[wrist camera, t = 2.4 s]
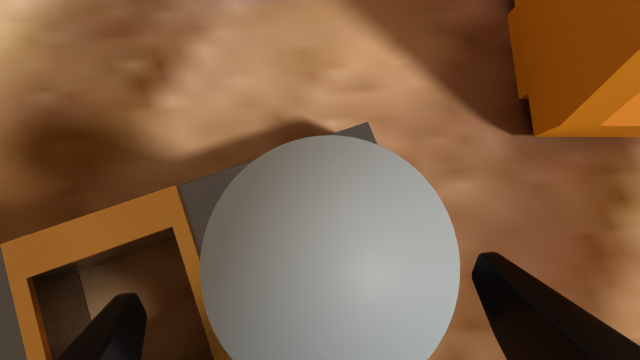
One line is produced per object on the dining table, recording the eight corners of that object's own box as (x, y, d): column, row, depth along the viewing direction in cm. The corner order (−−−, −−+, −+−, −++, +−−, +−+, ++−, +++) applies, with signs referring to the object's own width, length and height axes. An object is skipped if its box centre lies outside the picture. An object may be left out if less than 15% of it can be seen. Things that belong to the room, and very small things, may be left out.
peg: (351, 271, 17) (502, 337, 5) (277, 301, 17) (251, 456, 5) (323, 198, 18) (400, 104, 6) (251, 225, 17) (165, 183, 5)
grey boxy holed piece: (418, 295, 18) (447, 307, 14) (73, 446, 15) (13, 502, 12) (355, 140, 19) (369, 119, 16) (25, 254, 16) (-40, 257, 13)
